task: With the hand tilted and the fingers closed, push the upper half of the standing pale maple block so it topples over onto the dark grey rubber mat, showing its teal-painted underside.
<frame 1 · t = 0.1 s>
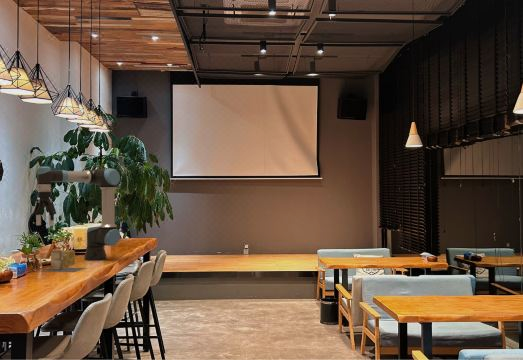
hand: (44, 225, 309), 28 cm above the table, tool pointing down, fingers open, 13 cm apart
mat: (64, 270, 308), on the table
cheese: (63, 266, 326), on the table
block: (57, 269, 309), point 1 cm above the table, touching mat
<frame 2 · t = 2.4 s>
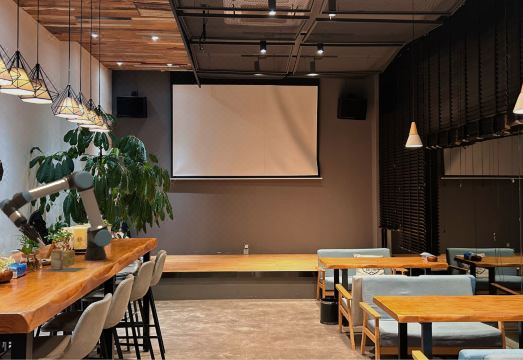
hand: (43, 246, 310), 15 cm above the table, tool tilted 45°, fingers closed
nothing on the table moved.
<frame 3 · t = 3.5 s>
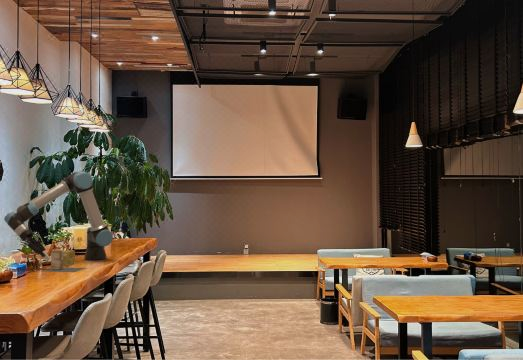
hand: (48, 259, 309), 6 cm above the table, tool tilted 45°, fingers closed
nothing on the table moved.
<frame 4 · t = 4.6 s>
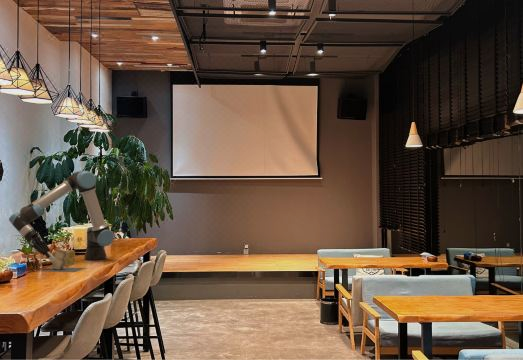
hand: (53, 260, 309), 6 cm above the table, tool tilted 45°, fingers closed
block: (57, 268, 309), point 1 cm above the table, tilted 17°, touching gripper, mat
everything else where it was.
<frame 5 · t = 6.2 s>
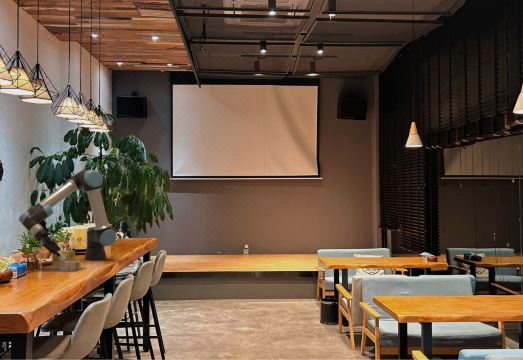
hand: (64, 259, 307), 7 cm above the table, tool tilted 45°, fingers closed
block: (60, 265, 308), point 3 cm above the table, tilted 90°, touching gripper, mat
everything else where it was.
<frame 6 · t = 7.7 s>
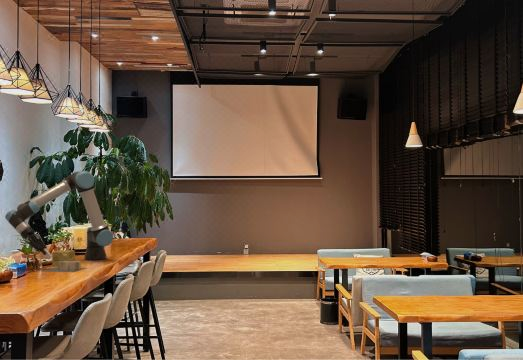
hand: (50, 257, 309), 8 cm above the table, tool tilted 45°, fingers closed
block: (60, 265, 308), point 3 cm above the table, tilted 90°, touching mat
everything else where it was.
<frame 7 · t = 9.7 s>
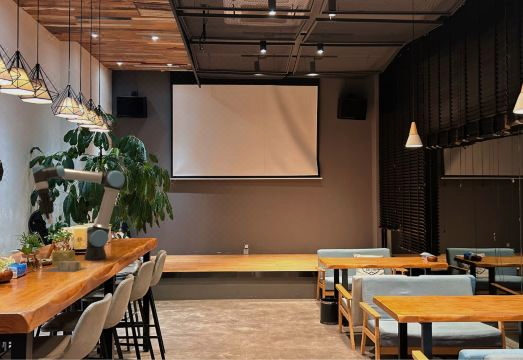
hand: (50, 223, 328), 28 cm above the table, tool pointing down, fingers closed
nothing on the table moved.
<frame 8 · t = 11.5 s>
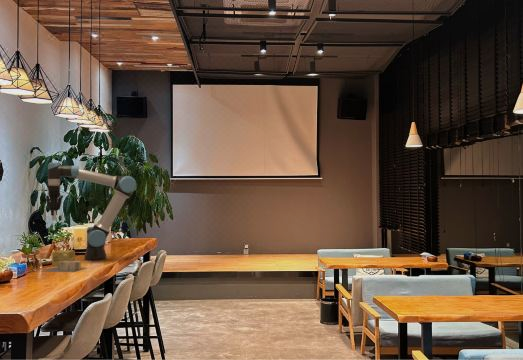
hand: (54, 220, 335), 29 cm above the table, tool pointing down, fingers closed
nothing on the table moved.
at the end: block tilted 90°; block 2.5 cm from the mat (horizontally); block point 3.1 cm above the table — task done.
